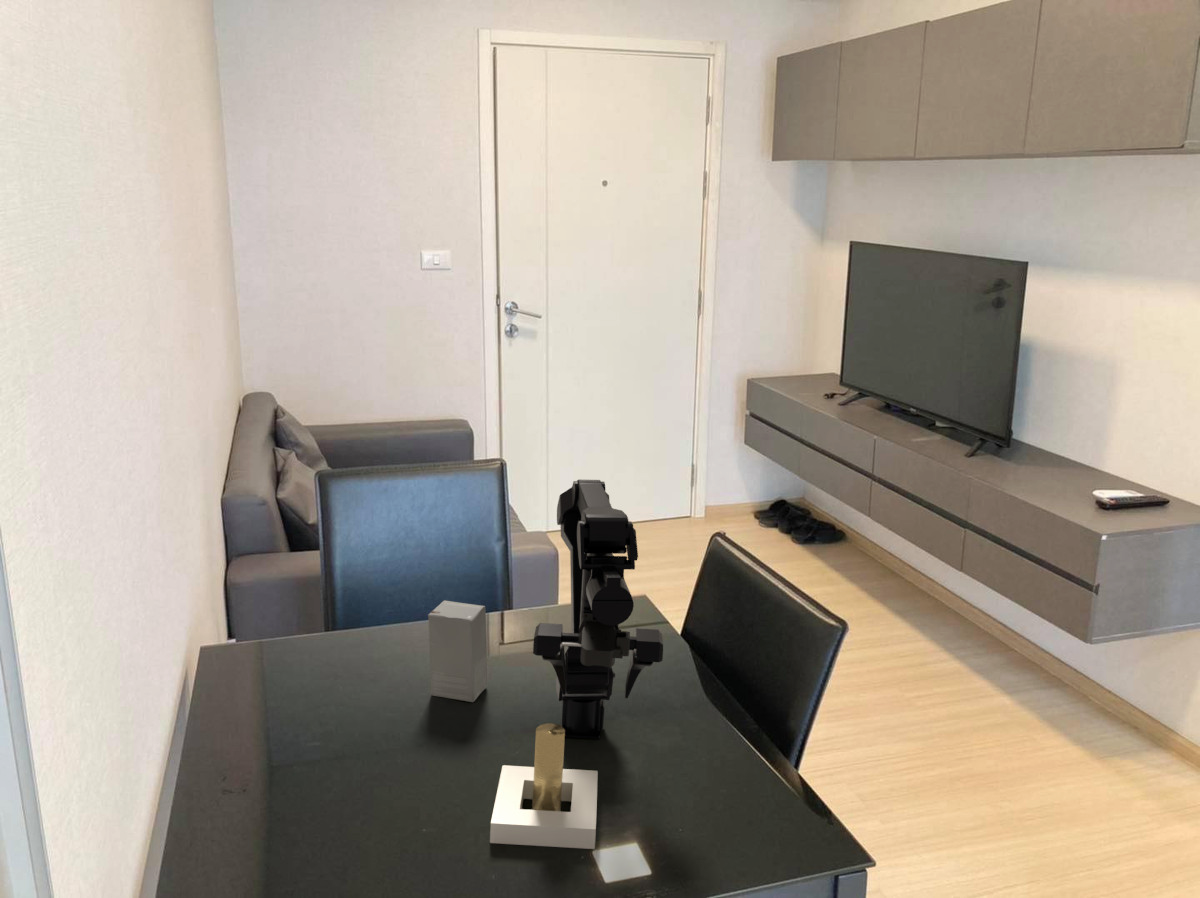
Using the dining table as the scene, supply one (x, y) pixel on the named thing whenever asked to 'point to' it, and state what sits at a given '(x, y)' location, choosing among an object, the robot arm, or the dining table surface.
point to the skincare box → (458, 650)
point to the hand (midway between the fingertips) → (595, 695)
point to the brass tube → (548, 767)
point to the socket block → (545, 825)
